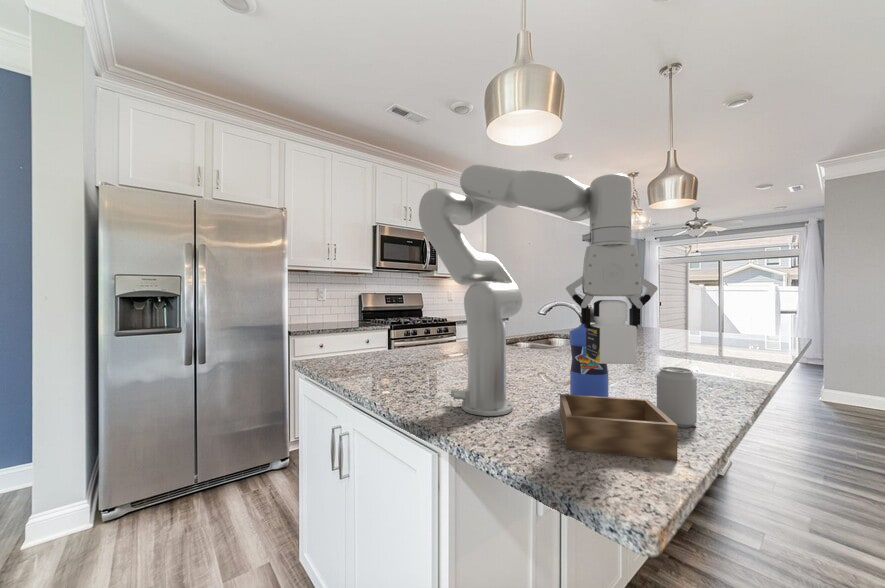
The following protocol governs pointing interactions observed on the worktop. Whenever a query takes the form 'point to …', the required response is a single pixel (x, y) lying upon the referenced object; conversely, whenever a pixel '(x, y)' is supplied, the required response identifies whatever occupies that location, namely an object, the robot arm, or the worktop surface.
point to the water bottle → (586, 366)
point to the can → (677, 395)
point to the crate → (617, 427)
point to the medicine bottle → (611, 334)
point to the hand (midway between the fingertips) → (610, 327)
